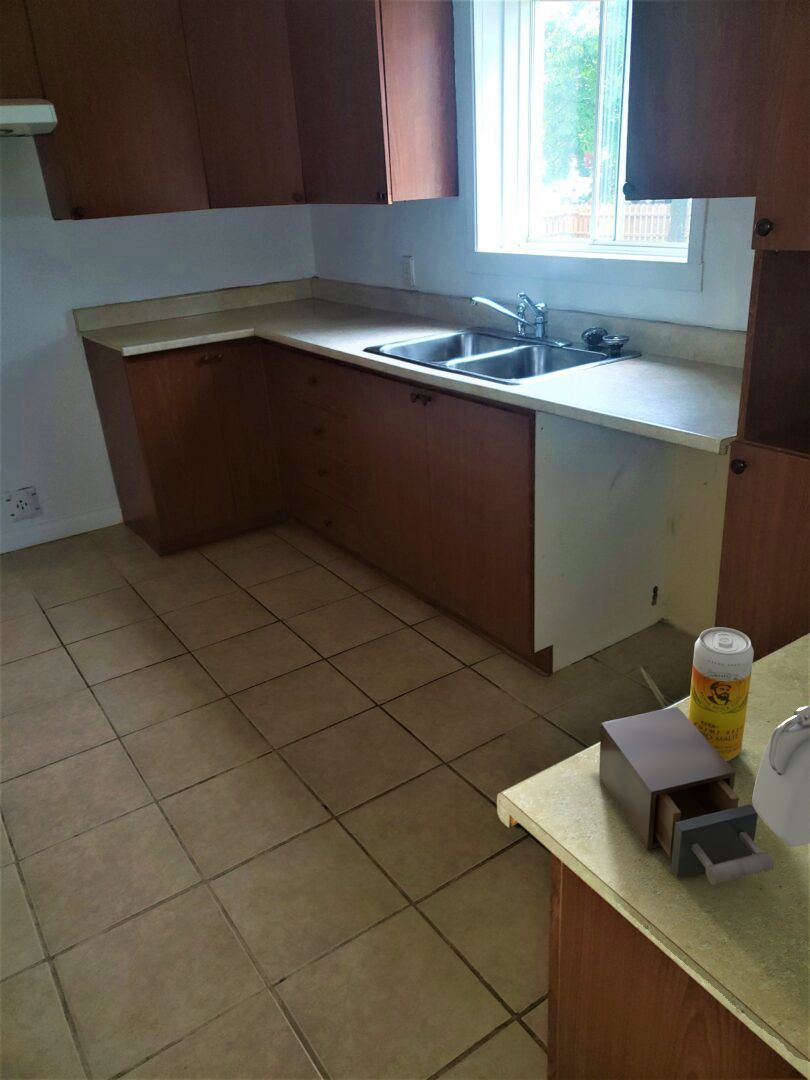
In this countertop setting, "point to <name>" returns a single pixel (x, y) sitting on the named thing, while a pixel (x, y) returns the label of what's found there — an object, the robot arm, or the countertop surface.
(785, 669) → the countertop surface
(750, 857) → the drawer
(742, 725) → the beer can
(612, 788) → the cabinet
